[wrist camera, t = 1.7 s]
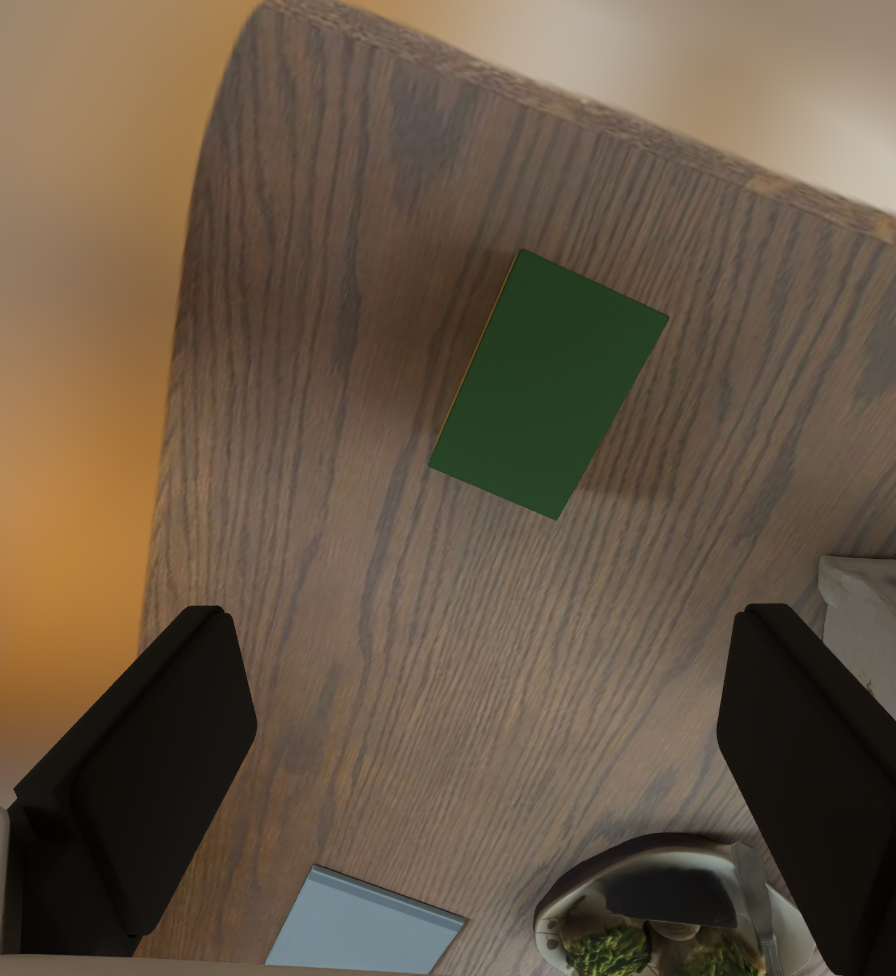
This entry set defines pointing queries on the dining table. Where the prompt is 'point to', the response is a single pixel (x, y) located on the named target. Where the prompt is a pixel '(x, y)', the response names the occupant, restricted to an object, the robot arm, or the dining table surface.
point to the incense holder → (862, 621)
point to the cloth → (361, 928)
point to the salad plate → (671, 913)
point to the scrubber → (544, 384)
